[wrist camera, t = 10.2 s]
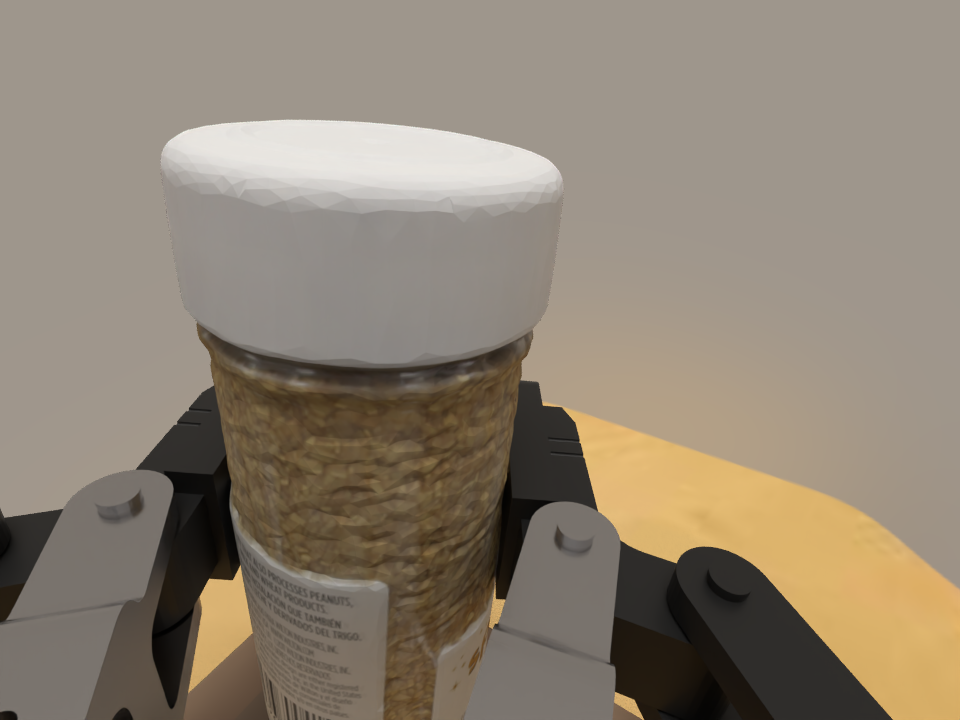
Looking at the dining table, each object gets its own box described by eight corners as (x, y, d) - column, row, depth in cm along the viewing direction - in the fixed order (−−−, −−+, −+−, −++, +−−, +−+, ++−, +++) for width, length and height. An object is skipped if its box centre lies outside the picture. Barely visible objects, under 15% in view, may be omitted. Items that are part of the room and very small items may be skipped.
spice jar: (509, 784, 12) (658, 170, 6) (311, 935, 10) (190, 178, 3) (416, 625, 15) (445, 118, 9) (250, 710, 13) (130, 103, 7)
